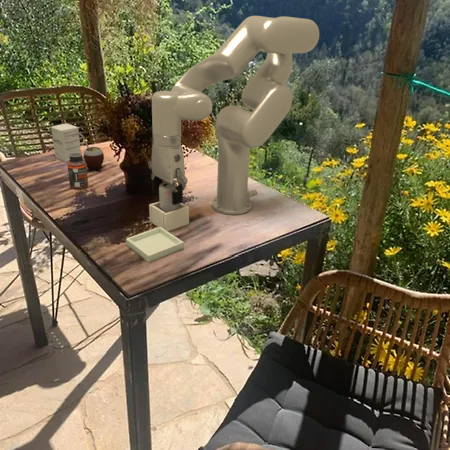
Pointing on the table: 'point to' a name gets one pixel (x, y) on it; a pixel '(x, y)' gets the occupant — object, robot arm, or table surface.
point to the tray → (154, 244)
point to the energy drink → (166, 197)
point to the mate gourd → (93, 157)
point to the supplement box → (65, 141)
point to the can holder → (169, 216)
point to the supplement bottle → (77, 171)
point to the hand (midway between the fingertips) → (167, 197)
